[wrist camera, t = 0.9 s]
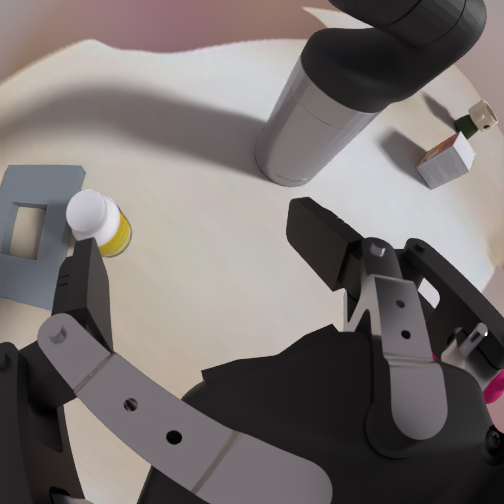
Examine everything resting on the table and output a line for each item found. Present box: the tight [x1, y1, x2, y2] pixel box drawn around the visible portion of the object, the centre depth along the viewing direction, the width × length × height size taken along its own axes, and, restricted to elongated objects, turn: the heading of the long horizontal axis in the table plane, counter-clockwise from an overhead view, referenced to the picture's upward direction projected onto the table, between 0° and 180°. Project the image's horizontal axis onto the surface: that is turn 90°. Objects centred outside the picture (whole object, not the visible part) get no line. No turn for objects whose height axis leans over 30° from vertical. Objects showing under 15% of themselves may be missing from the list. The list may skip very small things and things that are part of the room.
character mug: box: [455, 99, 498, 140], centre depth 46 cm, size 11×7×13 cm, turn 123°
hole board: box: [0, 165, 86, 311], centre depth 26 cm, size 18×14×2 cm
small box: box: [416, 131, 476, 190], centre depth 39 cm, size 8×6×10 cm
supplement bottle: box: [66, 189, 132, 258], centre depth 25 cm, size 5×5×10 cm
